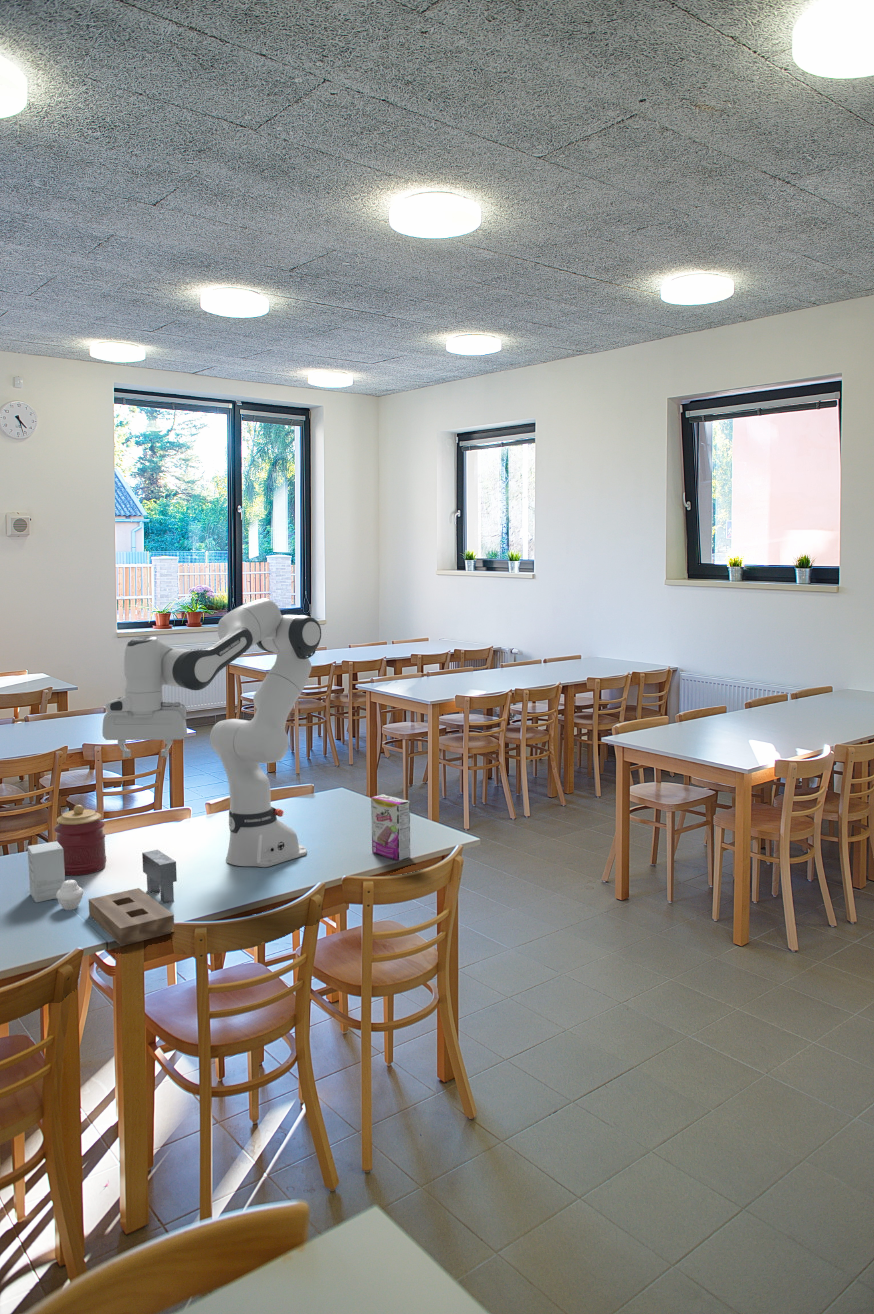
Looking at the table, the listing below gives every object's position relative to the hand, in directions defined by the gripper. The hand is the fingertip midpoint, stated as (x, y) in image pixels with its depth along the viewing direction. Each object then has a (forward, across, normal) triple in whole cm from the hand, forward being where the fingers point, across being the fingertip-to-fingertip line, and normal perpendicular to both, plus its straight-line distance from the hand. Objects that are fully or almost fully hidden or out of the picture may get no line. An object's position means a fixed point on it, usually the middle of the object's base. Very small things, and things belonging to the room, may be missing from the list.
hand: (145, 757), depth 232 cm
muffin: (+35, +16, +11) cm, 40 cm away
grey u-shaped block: (+34, -4, +4) cm, 35 cm away
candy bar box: (+34, -61, -24) cm, 74 cm away
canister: (+34, +24, -18) cm, 45 cm away
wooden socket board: (+34, -2, +22) cm, 41 cm away
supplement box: (+35, +25, +3) cm, 43 cm away
